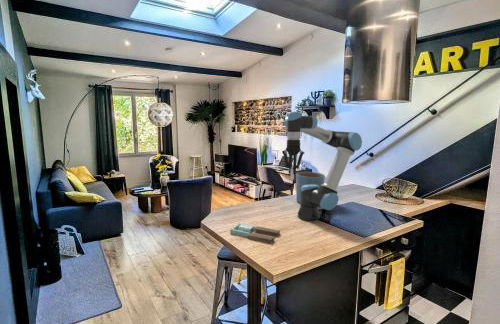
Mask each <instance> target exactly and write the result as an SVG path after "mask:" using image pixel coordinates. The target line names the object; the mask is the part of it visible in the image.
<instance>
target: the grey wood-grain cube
mask: <svg viewBox="0 0 500 324" xmlns="http://www.w3.org/2000/svg"><path fill="white" fill-rule="evenodd" d="M246 225H247V226H246V227H245V228H244V232H248V233H251V232H252V233H254V230H253V228H254V227H253V226H254V225H251V226H248V225H249V224H246Z"/></svg>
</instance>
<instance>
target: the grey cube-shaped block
mask: <svg viewBox="0 0 500 324" xmlns="http://www.w3.org/2000/svg"><path fill="white" fill-rule="evenodd" d="M240 224H241V225H240V226H238V230H239V231H244V228H245V227H246V226H247V225H248V224H246V225H243V224H244V223H240Z"/></svg>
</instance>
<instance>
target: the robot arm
mask: <svg viewBox="0 0 500 324" xmlns="http://www.w3.org/2000/svg"><path fill="white" fill-rule="evenodd" d="M318 123H319V119H318V118H317V117H316V116H315V115H302V112H301V111H289V112H288V113H287V116H286V117H285V118H284V122H283V125H284V126H285V127H286V128H287V131H286V138H287V140H286V148H285V149H284V150H282V151H281V152H282V154H283V158H284V164H285V167H286V168H288V174H290V176H289V177H290V180H291V181H293V180H295V175H296V174H297V169H299V168H300V165H301V162H302V158H303V156H304V155H305V151H303V150H302V149H301V133H302V134H303V133H304V134H306V135H308V136H310V137H311V138H312V137H313V138H315V139H318V140H319V141H321V142H322V143H323V144H325V145H328V146H330V147H332V148H335V150H336V151H337V152H336V154H335V156H334V159H333V161H332V163H331V166H330V168H329V171H328V174H327V175H326V176H325V177H326V178H325V179H324V184H322V185H320V187H319V186H318V185H314V184H310V185H303V186H302V187H301V203H300V207H299V209H298V212H297V218H298V219H300V220H303V221H307V222H315V221H318V220H320V215H321V214H320V211H319V208H321V209H323V210H326V211H331V210H334V209H335V208H336V207H337V205H338V203H339V196H338V186H339V184H340V181H341V179H342V176H343V174H344V172H345V169H346V167H347V164H348V162H349V160H350V158H351V156H354V155H355V152H357V151H359V150H360V149H361V148H362V145H363V140H362V136H361V134H359V133H358V132H355V131H334V130H331V129H324V128H322V127H320V126H318ZM298 154H299V157H298ZM297 157H298V159H297Z"/></svg>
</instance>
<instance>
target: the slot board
mask: <svg viewBox="0 0 500 324" xmlns="http://www.w3.org/2000/svg"><path fill="white" fill-rule="evenodd" d="M280 233H281V230H280V229H275V228H274V229H273V228H268V227H263V226H256V228H255V231H253V233H252V232H251V233H249V234H248V237H247V239H249V240H254V241H259V242H263V243H268V244H272V243H273V242H274V241H275V240H276V239H277V237H278V236H279V235H280Z"/></svg>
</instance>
